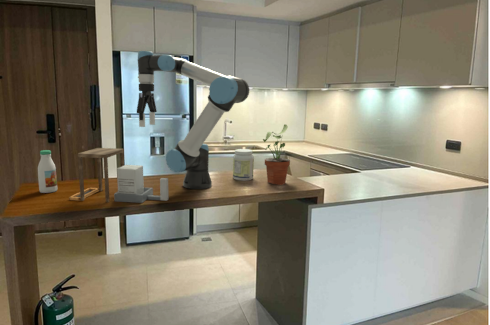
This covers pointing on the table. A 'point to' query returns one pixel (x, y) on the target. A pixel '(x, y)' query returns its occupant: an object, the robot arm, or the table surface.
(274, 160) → the potted plant
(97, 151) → the tunnel
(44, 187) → the milk bottle
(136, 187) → the supplement box
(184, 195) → the table surface
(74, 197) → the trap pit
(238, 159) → the supplement tub
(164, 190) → the cradle
